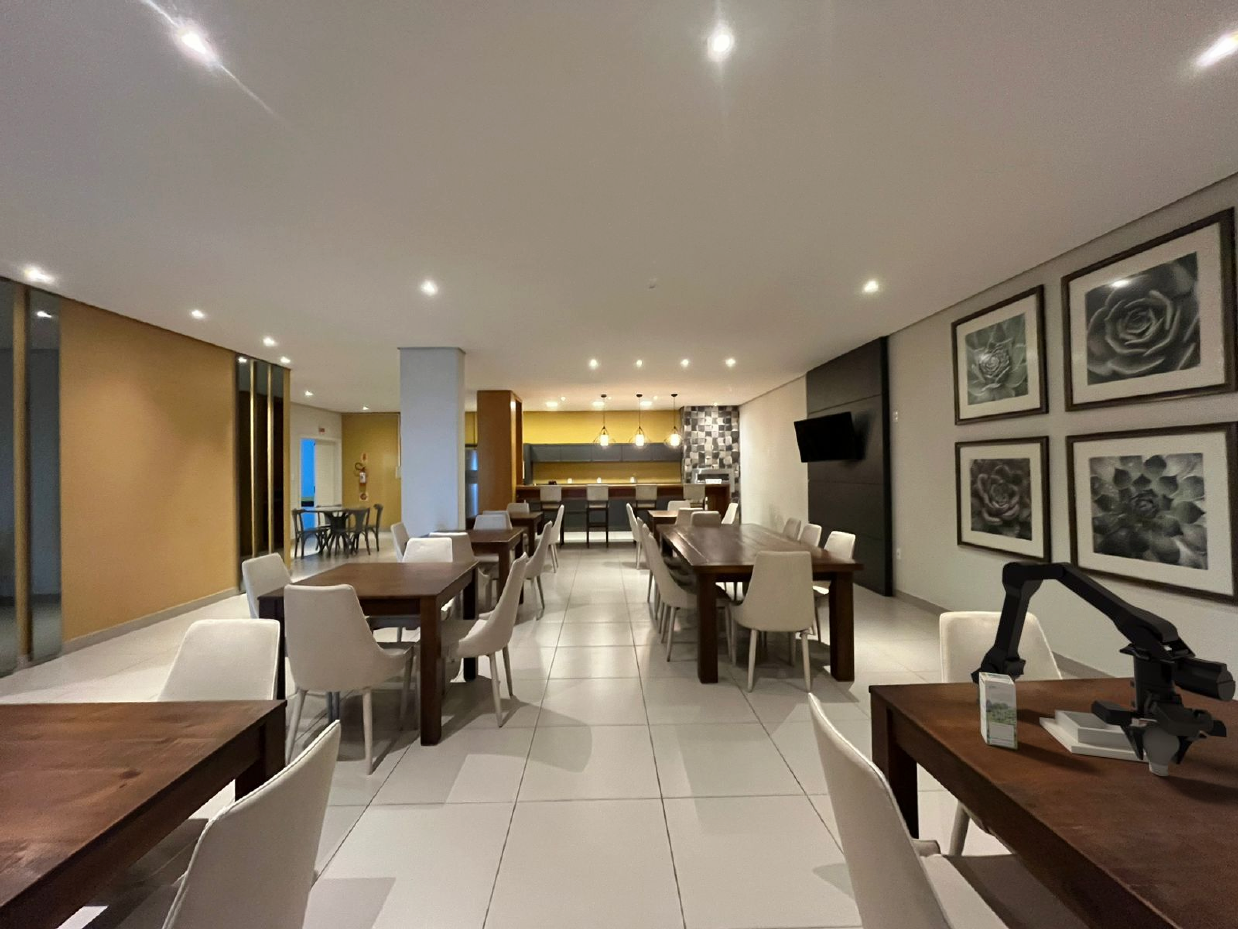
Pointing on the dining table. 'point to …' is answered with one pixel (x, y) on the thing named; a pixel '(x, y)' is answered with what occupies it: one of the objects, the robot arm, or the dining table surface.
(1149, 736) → the light bulb
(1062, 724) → the socket base
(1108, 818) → the dining table surface
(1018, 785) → the dining table surface
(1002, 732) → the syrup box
